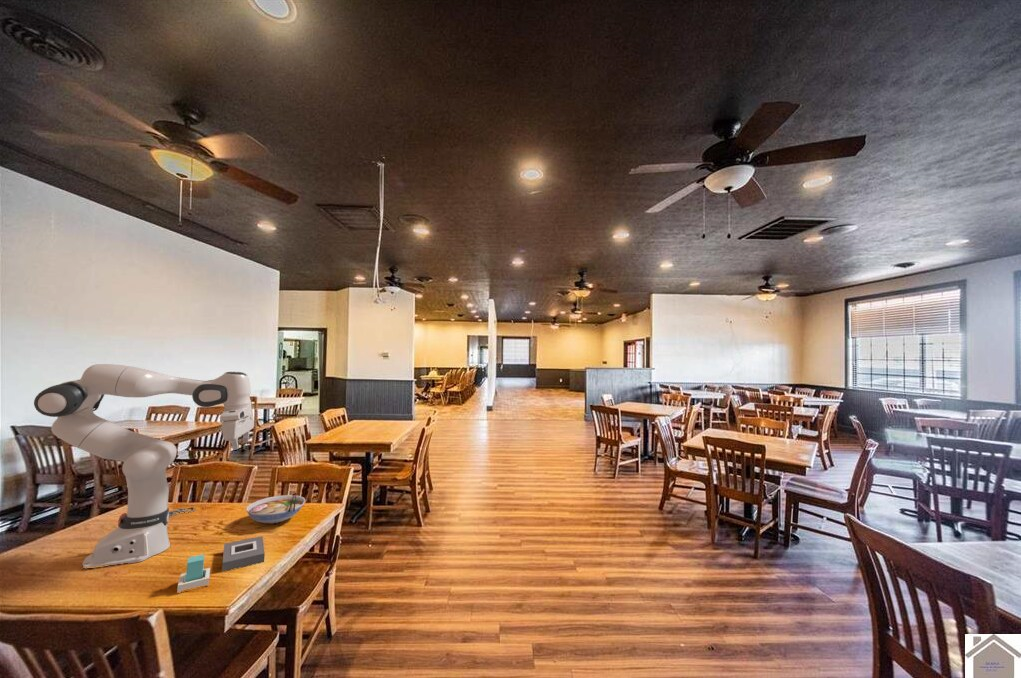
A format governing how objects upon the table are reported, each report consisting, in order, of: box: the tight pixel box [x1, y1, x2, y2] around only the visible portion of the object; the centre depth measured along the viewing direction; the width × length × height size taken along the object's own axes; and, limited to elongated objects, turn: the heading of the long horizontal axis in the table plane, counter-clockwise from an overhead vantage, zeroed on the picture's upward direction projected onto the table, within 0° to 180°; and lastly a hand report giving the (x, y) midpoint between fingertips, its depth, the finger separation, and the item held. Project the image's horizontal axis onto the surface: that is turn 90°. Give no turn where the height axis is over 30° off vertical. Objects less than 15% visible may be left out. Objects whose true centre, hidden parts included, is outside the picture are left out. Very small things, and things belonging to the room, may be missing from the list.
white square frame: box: [176, 567, 211, 594], centre depth 122 cm, size 8×8×2 cm
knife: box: [169, 506, 197, 518], centre depth 167 cm, size 28×2×10 cm
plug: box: [185, 554, 205, 582], centre depth 122 cm, size 4×4×8 cm
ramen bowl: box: [245, 492, 306, 525], centre depth 170 cm, size 25×23×8 cm
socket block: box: [221, 535, 266, 572], centre depth 139 cm, size 12×16×3 cm
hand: (240, 445), depth 153 cm, fingers open, 8 cm apart
